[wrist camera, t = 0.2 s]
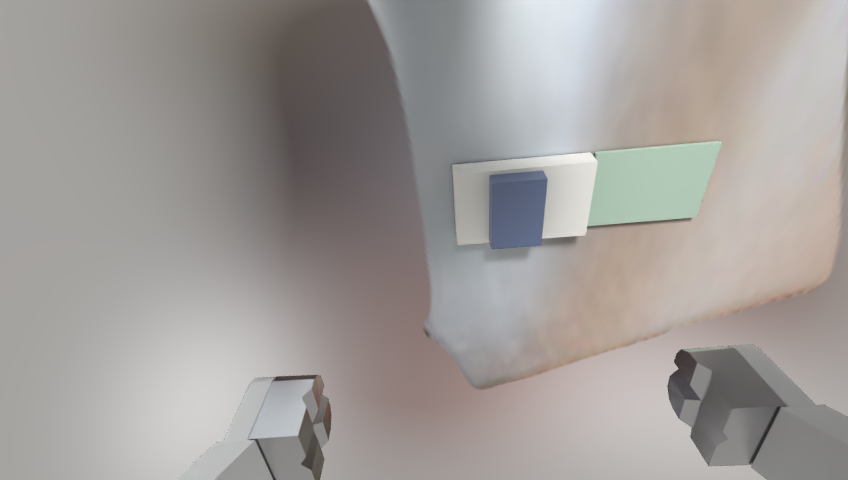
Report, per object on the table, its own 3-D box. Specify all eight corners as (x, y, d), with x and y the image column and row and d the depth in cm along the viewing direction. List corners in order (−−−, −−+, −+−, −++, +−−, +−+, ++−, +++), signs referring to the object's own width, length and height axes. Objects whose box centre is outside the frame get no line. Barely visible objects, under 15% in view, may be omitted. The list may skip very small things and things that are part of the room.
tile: (489, 175, 47) (492, 183, 45) (543, 170, 46) (547, 178, 45) (489, 239, 52) (491, 249, 50) (537, 235, 52) (541, 245, 50)
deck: (452, 164, 49) (453, 174, 47) (590, 152, 48) (598, 161, 46) (455, 234, 54) (457, 245, 52) (579, 224, 54) (585, 235, 52)
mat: (594, 151, 48) (596, 154, 47) (718, 140, 47) (722, 142, 47) (583, 223, 54) (584, 226, 53) (693, 214, 53) (696, 217, 53)
